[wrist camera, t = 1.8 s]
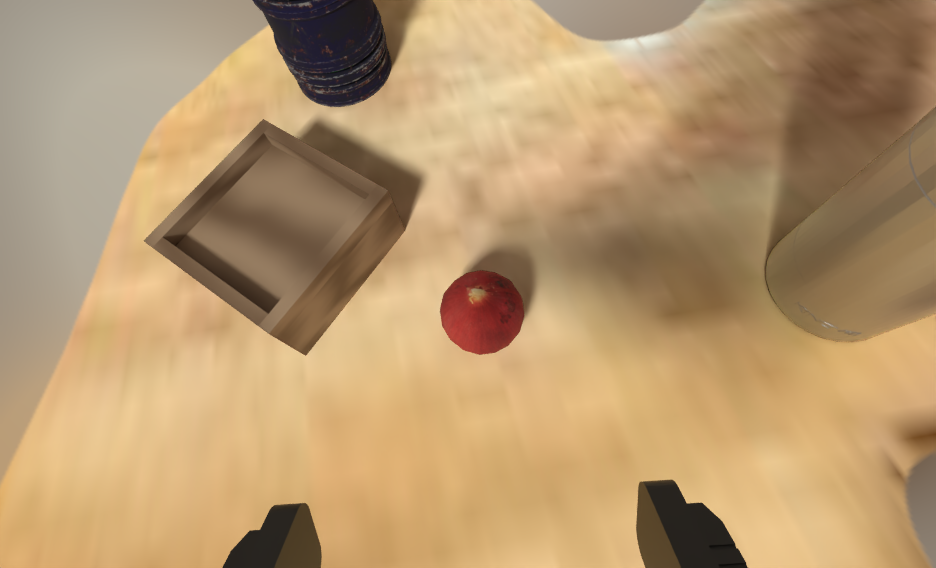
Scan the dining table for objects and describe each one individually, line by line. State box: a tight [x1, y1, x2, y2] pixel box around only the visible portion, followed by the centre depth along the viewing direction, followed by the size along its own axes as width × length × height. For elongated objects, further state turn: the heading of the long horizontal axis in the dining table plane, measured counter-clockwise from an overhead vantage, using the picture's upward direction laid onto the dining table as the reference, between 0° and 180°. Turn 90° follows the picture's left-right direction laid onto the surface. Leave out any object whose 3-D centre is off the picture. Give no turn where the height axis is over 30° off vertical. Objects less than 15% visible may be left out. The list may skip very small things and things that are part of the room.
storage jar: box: [253, 0, 391, 107], centre depth 41 cm, size 10×10×15 cm
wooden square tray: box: [144, 119, 405, 356], centre depth 38 cm, size 13×13×6 cm
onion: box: [440, 270, 524, 355], centre depth 33 cm, size 6×6×8 cm
